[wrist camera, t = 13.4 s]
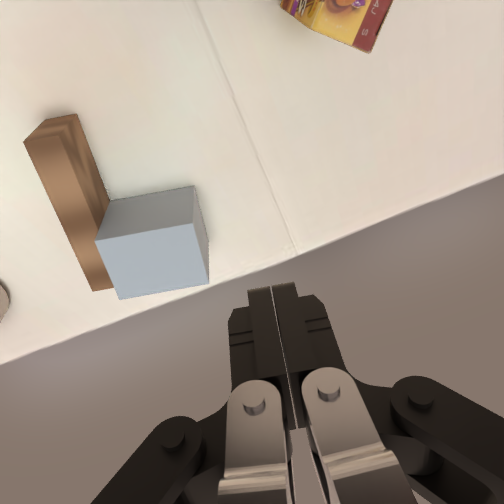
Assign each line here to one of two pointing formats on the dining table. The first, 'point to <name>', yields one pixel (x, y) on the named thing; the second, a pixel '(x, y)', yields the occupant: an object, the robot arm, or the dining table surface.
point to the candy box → (342, 19)
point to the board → (72, 189)
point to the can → (3, 302)
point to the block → (154, 243)
